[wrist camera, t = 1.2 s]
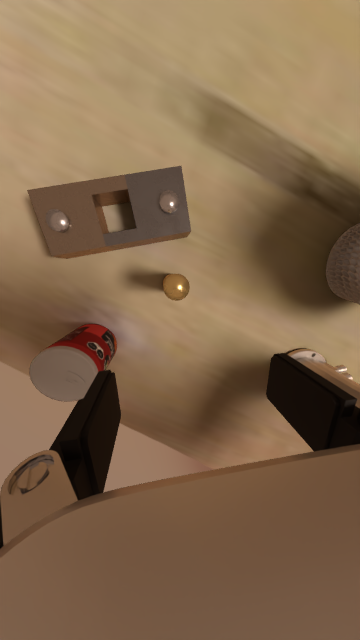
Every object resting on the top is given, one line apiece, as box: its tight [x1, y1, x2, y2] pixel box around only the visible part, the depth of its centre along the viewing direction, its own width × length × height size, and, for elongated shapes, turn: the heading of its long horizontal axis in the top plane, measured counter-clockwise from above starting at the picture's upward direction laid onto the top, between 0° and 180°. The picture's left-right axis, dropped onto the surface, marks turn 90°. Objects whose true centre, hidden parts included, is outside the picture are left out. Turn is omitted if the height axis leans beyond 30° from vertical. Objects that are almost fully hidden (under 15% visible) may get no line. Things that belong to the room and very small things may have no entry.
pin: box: [163, 274, 190, 300], centre depth 26 cm, size 3×3×10 cm
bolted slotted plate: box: [27, 166, 191, 259], centre depth 25 cm, size 20×8×5 cm, turn 100°
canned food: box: [29, 324, 117, 402], centre depth 26 cm, size 8×8×11 cm
